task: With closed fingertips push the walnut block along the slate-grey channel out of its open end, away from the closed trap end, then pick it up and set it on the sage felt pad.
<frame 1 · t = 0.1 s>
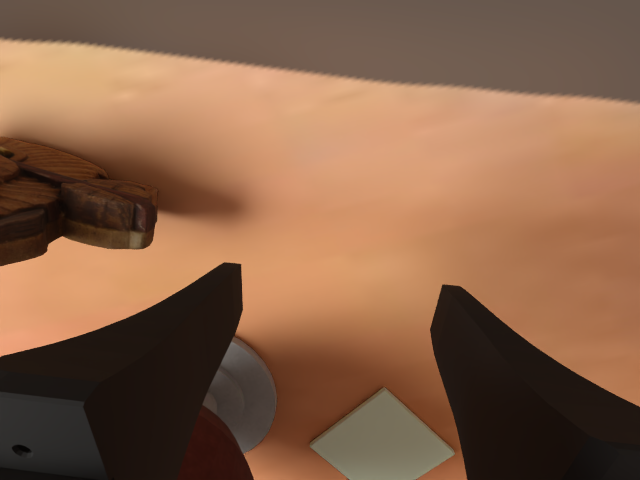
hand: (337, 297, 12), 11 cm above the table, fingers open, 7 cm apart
pad: (380, 446, 27), on the table
wooden carving: (68, 174, 23), on the table
mate gourd: (193, 384, 27), on the table
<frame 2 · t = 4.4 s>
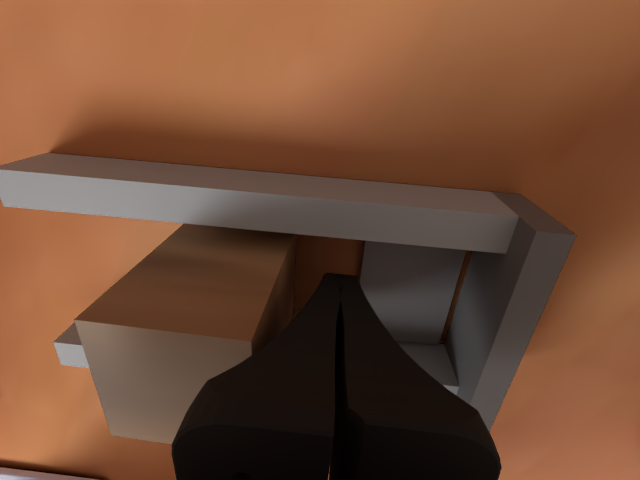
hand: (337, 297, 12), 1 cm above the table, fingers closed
block: (245, 268, 14), resting in channel, touching gripper
channel: (263, 270, 14), on the table
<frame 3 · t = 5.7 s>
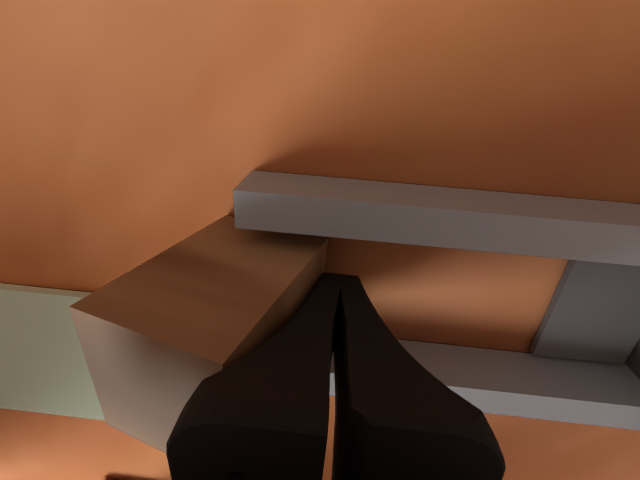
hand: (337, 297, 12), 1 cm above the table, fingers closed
pad: (34, 352, 17), on the table
block: (274, 274, 13), point 1 cm above the table, tilted 16°, touching gripper
channel: (451, 288, 13), on the table
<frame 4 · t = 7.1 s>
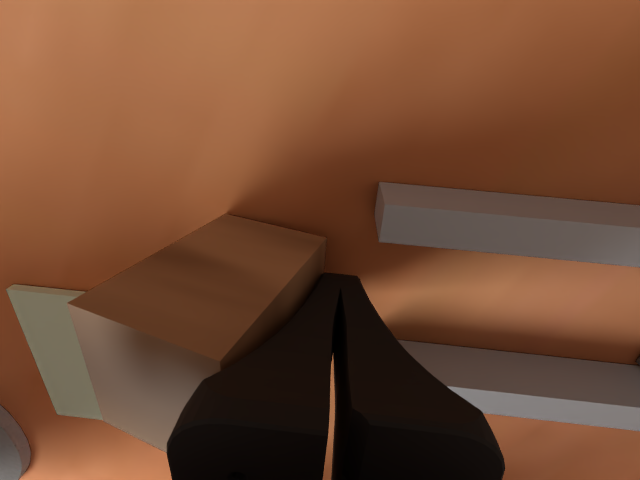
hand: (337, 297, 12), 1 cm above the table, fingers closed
pad: (120, 361, 17), on the table
block: (273, 273, 13), point 1 cm above the table, tilted 16°, touching gripper
channel: (566, 300, 13), on the table
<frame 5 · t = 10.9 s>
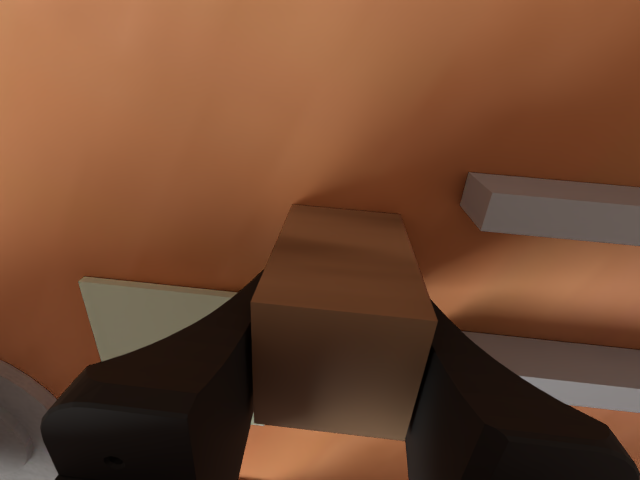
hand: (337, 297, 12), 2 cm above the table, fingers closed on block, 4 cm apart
pad: (184, 354, 17), on the table
block: (340, 256, 14), on the table, touching gripper
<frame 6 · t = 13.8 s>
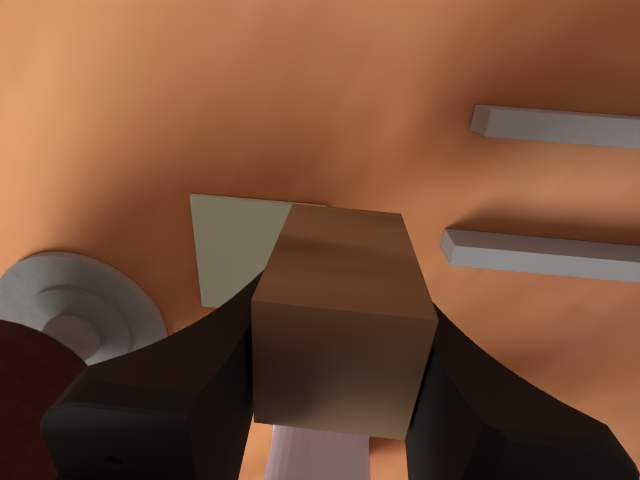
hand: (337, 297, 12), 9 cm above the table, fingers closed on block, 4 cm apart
pad: (259, 258, 22), on the table
block: (341, 255, 14), point 7 cm above the table, touching gripper
channel: (601, 194, 19), on the table
mate gourd: (78, 319, 26), on the table
when the fingers open (3 cm above the table, at t = 16.5 s): block drops 1 cm, resting on pad.
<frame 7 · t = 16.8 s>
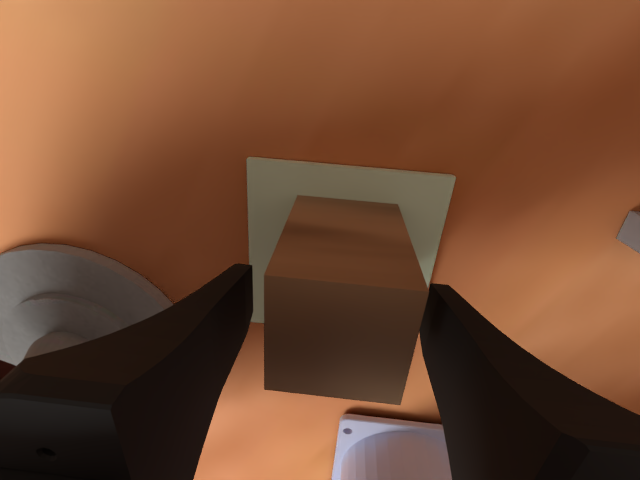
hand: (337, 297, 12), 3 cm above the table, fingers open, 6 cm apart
pad: (340, 254, 15), on the table
block: (342, 244, 15), resting on pad
mate gourd: (77, 337, 19), on the table
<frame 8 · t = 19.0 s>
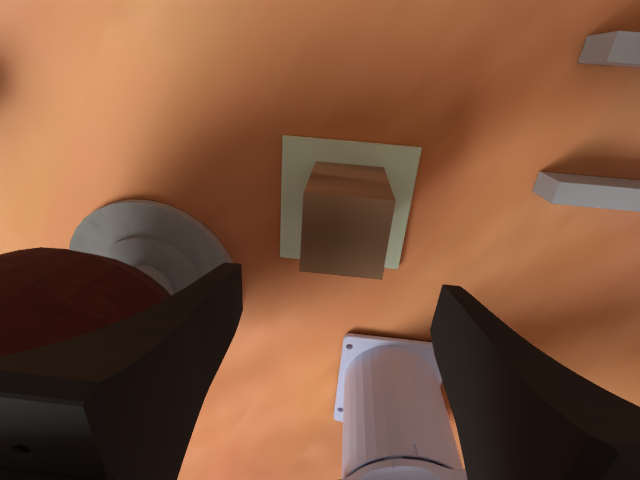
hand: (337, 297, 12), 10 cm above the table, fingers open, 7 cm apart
pad: (344, 205, 22), on the table
block: (346, 196, 21), resting on pad
mate gourd: (148, 274, 26), on the table
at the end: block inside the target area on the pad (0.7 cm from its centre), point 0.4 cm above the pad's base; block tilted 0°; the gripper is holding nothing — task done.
